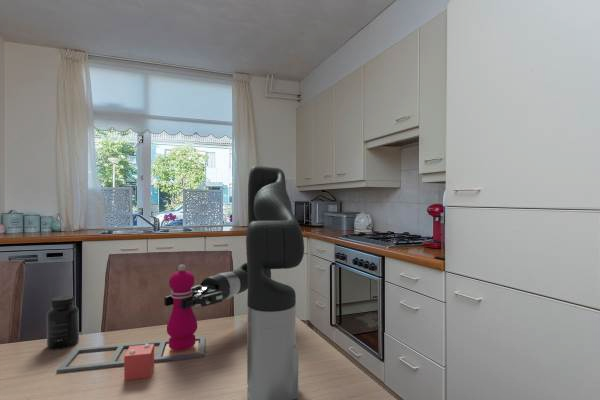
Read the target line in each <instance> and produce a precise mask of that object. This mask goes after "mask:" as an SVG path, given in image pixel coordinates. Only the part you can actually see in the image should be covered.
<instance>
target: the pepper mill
mask: <svg viewBox="0 0 600 400" xmlns="http://www.w3.org/2000/svg"><path fill="white" fill-rule="evenodd" d="M168 286H169V287H170V289H171V290H172V291H171V294H170V295H171V297H172V298H173V304H172V311H171V313H170V316H169V319H168V320H167V324H166V333H167V335H168V336H169V338H168V340H169V347H170V348H171V349H174V350H183V349H187V348H190V347H192V346H194V344H195V337H196V335H195V333H196V331H197V330H198V321H197V317H196V315H195V313H194V311H193V308H192V307H193V306H192V307H189V308H186V309H181V308H180V301H181V300H183V299H186V298H189V297H191V296H192V295H193V294H192V291H193V290H192V289H191V288H192V287H194V286H195V276H194V274H193V273H192V272H191V271H189V270H186V265H185V264H179V266H178V267H177V271H175V272H173V273H172V274H171V275H170V277H169V280H168Z"/></svg>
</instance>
